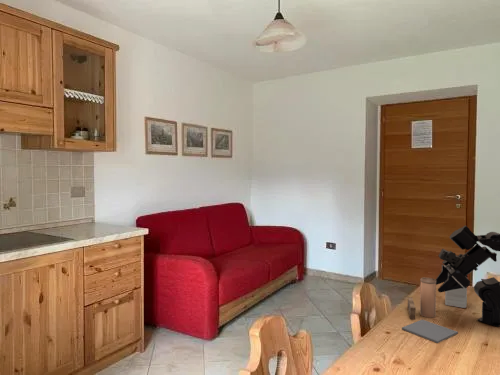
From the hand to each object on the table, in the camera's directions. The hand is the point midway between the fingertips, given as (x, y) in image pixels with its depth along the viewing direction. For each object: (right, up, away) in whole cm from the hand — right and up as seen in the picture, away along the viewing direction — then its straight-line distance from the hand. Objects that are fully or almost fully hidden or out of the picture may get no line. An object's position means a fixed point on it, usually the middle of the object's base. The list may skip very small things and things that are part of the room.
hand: (436, 287), depth 132 cm
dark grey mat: (-9, -11, -13) cm, 19 cm away
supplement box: (+14, -10, +12) cm, 21 cm away
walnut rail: (-8, -10, +3) cm, 13 cm away
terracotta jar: (-3, -10, +1) cm, 11 cm away
